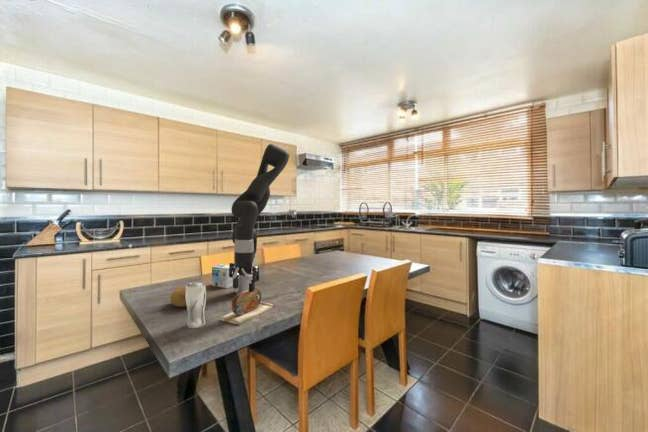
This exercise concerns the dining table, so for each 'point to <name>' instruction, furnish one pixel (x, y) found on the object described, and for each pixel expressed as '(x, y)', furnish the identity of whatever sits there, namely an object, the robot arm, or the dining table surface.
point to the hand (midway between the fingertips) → (243, 290)
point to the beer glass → (196, 304)
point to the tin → (246, 301)
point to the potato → (179, 296)
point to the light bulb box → (221, 276)
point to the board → (243, 318)
